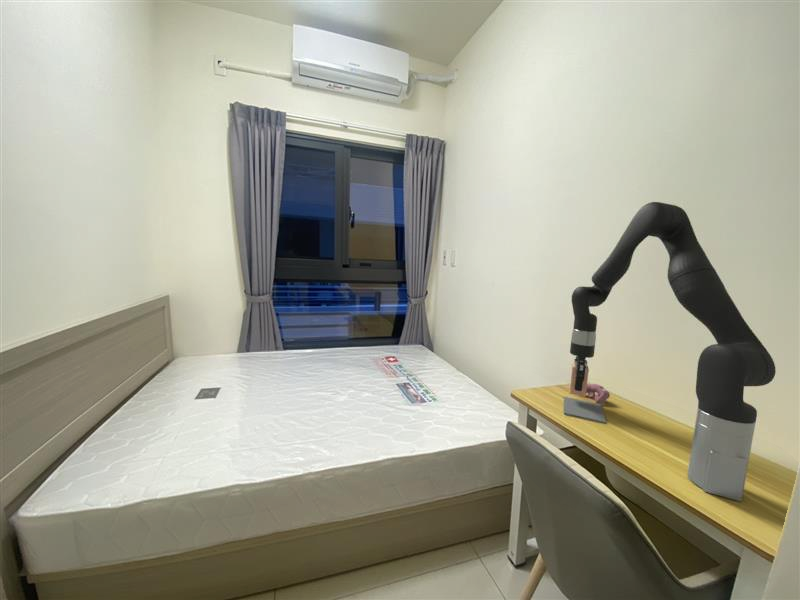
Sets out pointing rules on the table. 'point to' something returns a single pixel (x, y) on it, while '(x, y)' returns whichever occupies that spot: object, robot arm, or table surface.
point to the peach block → (572, 380)
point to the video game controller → (601, 391)
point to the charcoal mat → (584, 410)
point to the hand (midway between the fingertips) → (577, 387)
